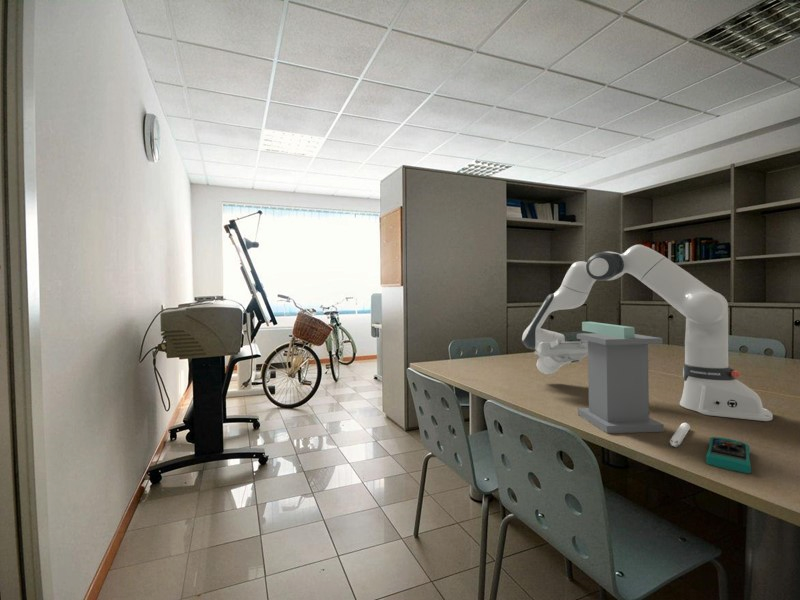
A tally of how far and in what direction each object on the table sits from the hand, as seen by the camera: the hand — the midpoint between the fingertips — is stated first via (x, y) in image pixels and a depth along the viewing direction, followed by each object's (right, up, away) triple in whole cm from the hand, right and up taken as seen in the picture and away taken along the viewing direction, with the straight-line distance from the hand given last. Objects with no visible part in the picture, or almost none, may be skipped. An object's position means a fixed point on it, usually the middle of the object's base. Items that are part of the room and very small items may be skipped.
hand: (572, 340), depth 137 cm
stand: (+1, -21, -27) cm, 34 cm away
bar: (0, +5, -22) cm, 22 cm away
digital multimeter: (+12, -22, -52) cm, 58 cm away
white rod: (+10, -22, -39) cm, 46 cm away
